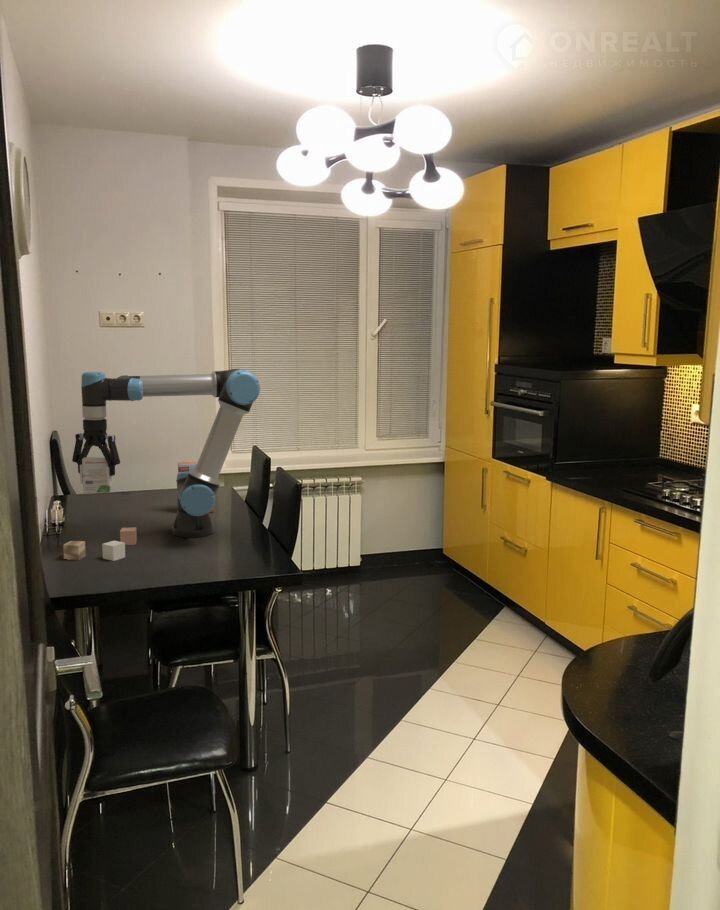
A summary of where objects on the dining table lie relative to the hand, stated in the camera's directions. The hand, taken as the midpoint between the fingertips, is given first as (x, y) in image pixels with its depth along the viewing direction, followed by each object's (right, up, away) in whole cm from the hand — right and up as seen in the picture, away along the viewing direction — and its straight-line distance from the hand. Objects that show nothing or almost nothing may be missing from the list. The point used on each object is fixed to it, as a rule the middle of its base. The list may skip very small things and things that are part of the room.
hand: (96, 483), depth 249 cm
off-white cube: (+8, -24, -7) cm, 26 cm away
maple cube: (-4, -24, -8) cm, 26 cm away
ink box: (0, -3, 0) cm, 3 cm away
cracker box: (+21, -14, +58) cm, 64 cm away
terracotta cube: (+7, -21, +11) cm, 25 cm away
